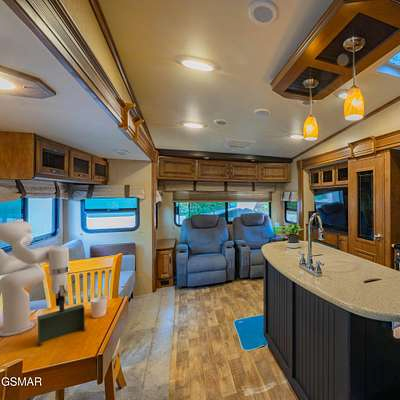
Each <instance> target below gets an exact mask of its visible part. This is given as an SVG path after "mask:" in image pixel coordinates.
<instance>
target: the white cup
mask: <svg viewBox="0 0 400 400" xmlns="http://www.w3.org/2000/svg"><path fill="white" fill-rule="evenodd" d="M107 309H108V296H105V295H104V296H103V295H101V296H96V297H94V298H91V299H90V312H91V317H92V318H93V319H97V318H101V317H104V316H105V315H107Z"/></svg>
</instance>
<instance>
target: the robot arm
mask: <svg viewBox="0 0 400 400" xmlns="http://www.w3.org/2000/svg"><path fill="white" fill-rule="evenodd" d="M32 232H33V227H32V225H31V224H30V223H29V222H28V221H25V220H18V221H8V222H1V223H0V243H1V242H4V243H6V244H8V245H9V246H12V247H11V252H12V255H10V254H7V252H5V251H4V249H2V248H1V247H0V276H1V278H0V294H1V299H2V301H1V302H2V316H3V317H2V323H3V325H2V326H3V328H2V329H1V330H0V337H12V336H16V335H20V334H22V333H25V332H27V331H29V330H32V329H33V328H34V327H35V323H36V322H34V321H31V299H30V298H31V297H30V293H29V292H28V291H26V290H25V288H28V287H30V286H33V285H36V284H37V285H38V284H39V283H41V282H43V281H44V280H45V279H46V272H45V271H44V269H43V268H42V267H41V265H40V264H39V263H43V262H47V261H48V275H49V276H50V277H51V279H50V280H51V282H50V283H51V285H50V286H51V288H50V291H51V292H52V294H53V295H55V306H57V307H59V302H62V301H64V305H65V304H66V297H65V293H66V292H67V291H68V276H67V275H68V273H70V254H69V247H67V246H58V245H46V246H41V247H36V248H28V246H29V245H30V244H31V243H32V242H33V240H34V236H33V235H32Z"/></svg>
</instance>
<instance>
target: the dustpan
mask: <svg viewBox="0 0 400 400" xmlns="http://www.w3.org/2000/svg"><path fill="white" fill-rule="evenodd" d="M58 307H59V308H58V309H59V310H56V311H53V312H49V313H45V314H42V315H37V343H38V346H39V347H41V346H42V344H41V342H45V341H48V340H51V339H54V338H57V337H60V336H63V335H67V334H69V333H72V332H74V331H77V330H81V329H82V331H83V332H85V331H86V324H85V323H86V321H85V320H86V318H85V317H86V315H85V306H84V304H82V303H81V304H78V305H74V306H71V307H67V308H65V304H64V301H62V302H59V306H58Z"/></svg>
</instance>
